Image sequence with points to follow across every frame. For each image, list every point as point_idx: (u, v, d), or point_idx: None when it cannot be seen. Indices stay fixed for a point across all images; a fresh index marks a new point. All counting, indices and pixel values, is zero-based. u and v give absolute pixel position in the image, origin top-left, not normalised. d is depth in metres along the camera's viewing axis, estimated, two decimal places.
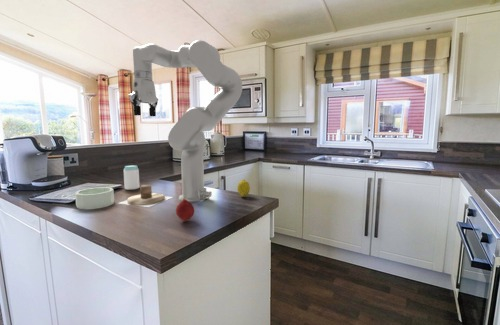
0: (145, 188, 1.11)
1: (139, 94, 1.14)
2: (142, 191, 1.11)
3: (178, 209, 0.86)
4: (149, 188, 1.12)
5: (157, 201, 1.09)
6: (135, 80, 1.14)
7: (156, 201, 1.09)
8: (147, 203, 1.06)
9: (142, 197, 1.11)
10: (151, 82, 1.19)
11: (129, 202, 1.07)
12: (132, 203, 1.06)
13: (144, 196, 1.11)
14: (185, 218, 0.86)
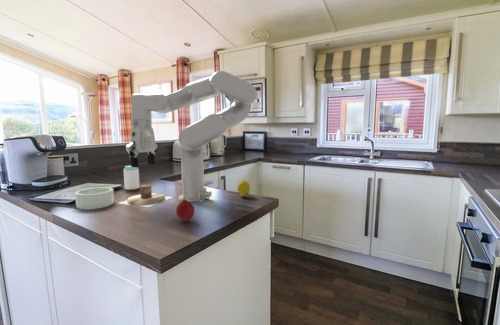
0: (145, 188, 1.11)
1: (137, 145, 1.05)
2: (142, 191, 1.11)
3: (178, 209, 0.86)
4: (149, 188, 1.12)
5: (157, 201, 1.09)
6: (133, 130, 1.05)
7: (156, 201, 1.09)
8: (147, 203, 1.06)
9: (142, 197, 1.11)
10: (150, 129, 1.11)
11: (129, 202, 1.07)
12: (132, 203, 1.06)
13: (144, 196, 1.11)
14: (185, 218, 0.86)
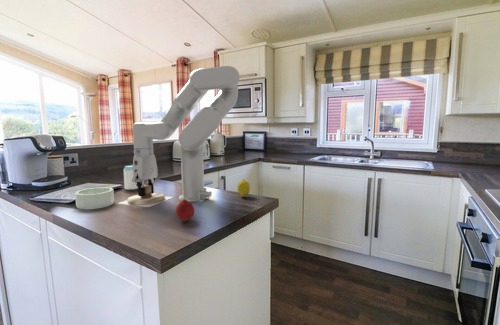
0: (145, 188, 1.11)
1: (139, 173, 1.06)
2: None
3: (178, 209, 0.86)
4: (149, 188, 1.12)
5: (157, 201, 1.09)
6: (135, 158, 1.07)
7: (156, 201, 1.09)
8: (147, 203, 1.06)
9: (142, 197, 1.11)
10: (152, 156, 1.12)
11: (129, 202, 1.07)
12: (132, 203, 1.06)
13: (144, 196, 1.11)
14: (185, 218, 0.86)
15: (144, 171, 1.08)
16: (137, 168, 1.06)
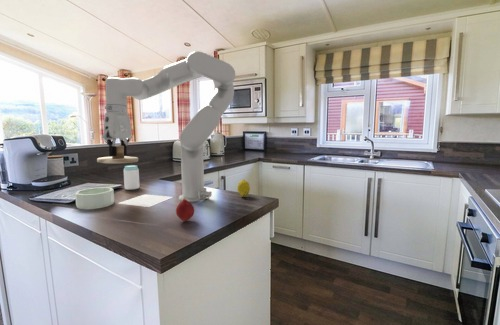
0: (117, 147, 1.05)
1: (110, 130, 1.01)
2: None
3: (178, 209, 0.86)
4: (121, 148, 1.06)
5: (128, 161, 1.04)
6: (106, 114, 1.02)
7: (127, 161, 1.03)
8: (117, 162, 1.01)
9: (113, 157, 1.06)
10: (126, 115, 1.07)
11: (98, 160, 1.02)
12: (101, 161, 1.01)
13: (115, 156, 1.06)
14: (185, 218, 0.86)
15: (115, 129, 1.02)
16: (108, 125, 1.01)
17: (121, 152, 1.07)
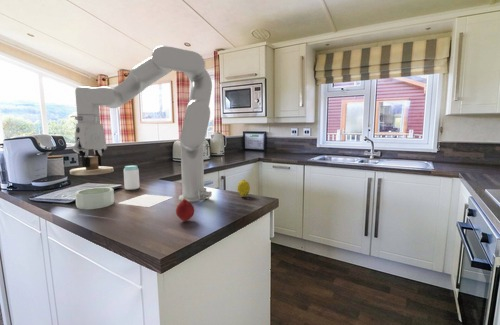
0: (90, 158, 1.03)
1: (81, 141, 0.98)
2: None
3: (178, 209, 0.86)
4: (95, 159, 1.04)
5: (102, 172, 1.01)
6: (77, 125, 0.99)
7: (100, 172, 1.01)
8: (89, 173, 0.99)
9: (87, 168, 1.03)
10: (99, 125, 1.04)
11: (70, 172, 0.99)
12: (73, 173, 0.98)
13: (89, 167, 1.03)
14: (185, 218, 0.86)
15: (87, 139, 1.00)
16: (79, 136, 0.99)
17: (95, 163, 1.04)
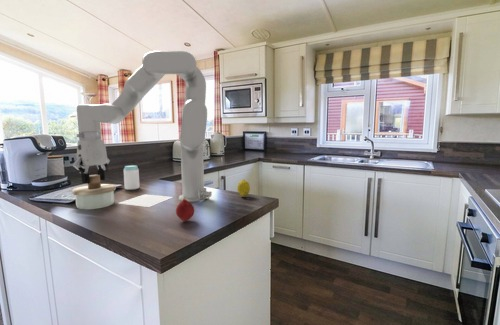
0: (92, 178, 1.04)
1: (83, 159, 0.99)
2: None
3: (178, 209, 0.86)
4: (97, 178, 1.05)
5: (104, 191, 1.02)
6: (79, 142, 1.00)
7: (103, 191, 1.02)
8: (92, 193, 1.00)
9: (89, 187, 1.04)
10: (100, 141, 1.05)
11: (73, 192, 1.01)
12: (76, 193, 1.00)
13: (91, 186, 1.04)
14: (185, 218, 0.86)
15: (89, 156, 1.01)
16: (81, 153, 0.99)
17: (97, 182, 1.05)
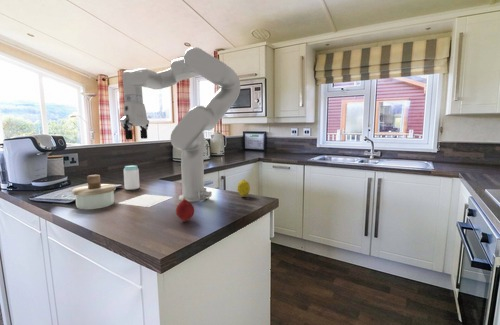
0: (92, 178, 1.04)
1: (130, 118, 1.13)
2: (89, 181, 1.04)
3: (178, 209, 0.86)
4: (97, 178, 1.05)
5: (104, 191, 1.02)
6: (126, 104, 1.13)
7: (103, 191, 1.02)
8: (92, 193, 1.00)
9: (89, 187, 1.04)
10: (142, 105, 1.19)
11: (73, 192, 1.01)
12: (76, 193, 1.00)
13: (91, 186, 1.04)
14: (185, 218, 0.86)
15: (135, 116, 1.14)
16: (128, 113, 1.13)
17: (97, 182, 1.05)
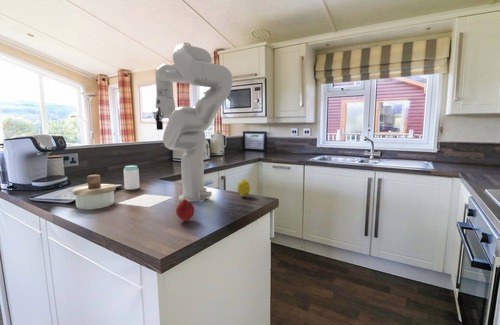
0: (92, 178, 1.04)
1: (161, 110, 1.25)
2: (89, 181, 1.04)
3: (178, 209, 0.86)
4: (97, 178, 1.05)
5: (104, 191, 1.02)
6: (158, 98, 1.26)
7: (103, 191, 1.02)
8: (92, 193, 1.00)
9: (89, 187, 1.04)
10: (172, 99, 1.31)
11: (73, 192, 1.01)
12: (76, 193, 1.00)
13: (91, 186, 1.04)
14: (185, 218, 0.86)
15: (165, 109, 1.26)
16: (159, 106, 1.25)
17: (97, 182, 1.05)
